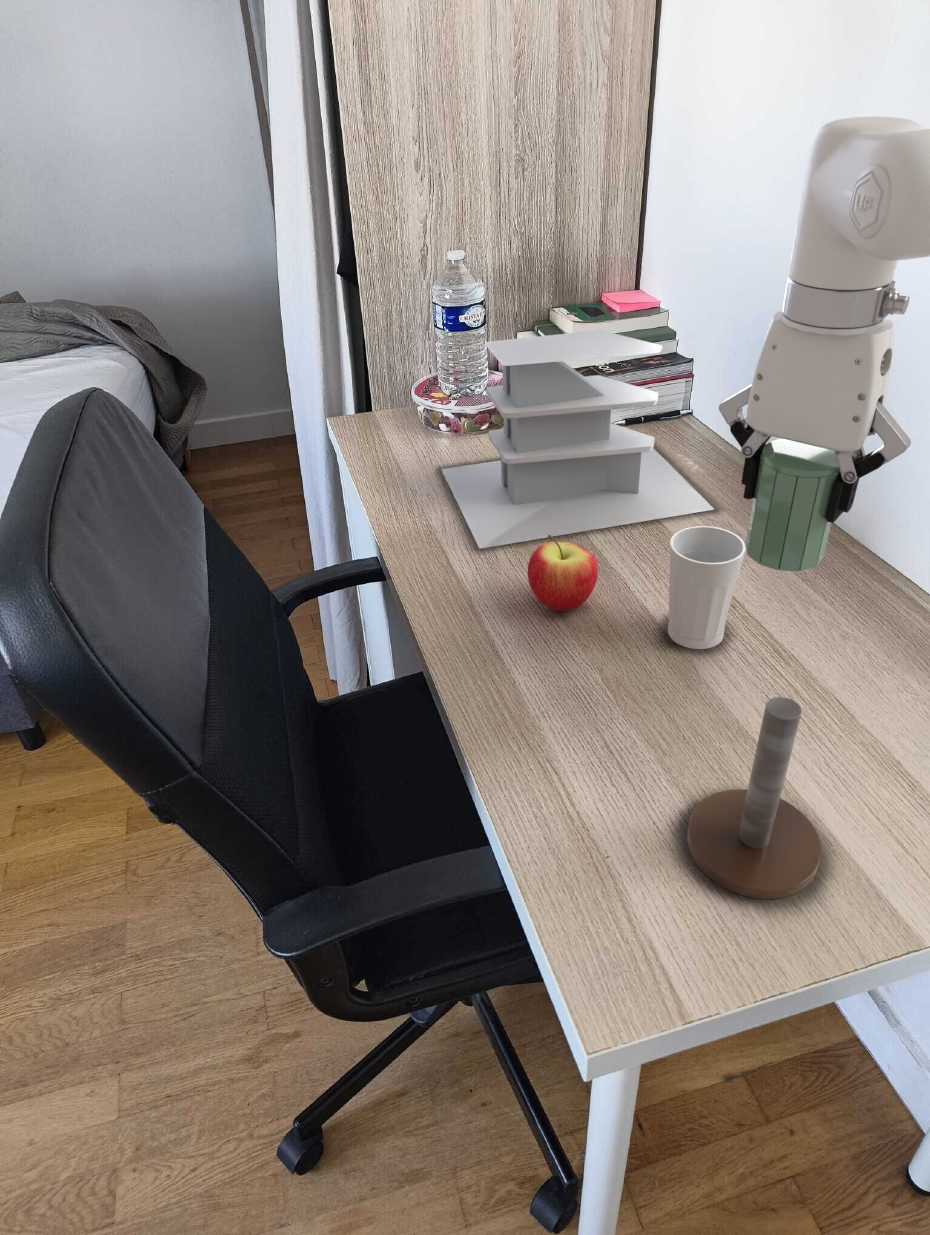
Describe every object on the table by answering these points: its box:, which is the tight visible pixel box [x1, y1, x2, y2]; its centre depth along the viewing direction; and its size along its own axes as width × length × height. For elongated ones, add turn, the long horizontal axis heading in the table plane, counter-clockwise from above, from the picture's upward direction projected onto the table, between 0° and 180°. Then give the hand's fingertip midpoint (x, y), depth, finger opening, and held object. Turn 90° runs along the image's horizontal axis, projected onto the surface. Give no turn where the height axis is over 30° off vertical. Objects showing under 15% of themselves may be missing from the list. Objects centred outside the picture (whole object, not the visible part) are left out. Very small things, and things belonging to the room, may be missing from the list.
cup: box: [667, 525, 747, 650], centre depth 95 cm, size 8×8×12 cm
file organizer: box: [441, 329, 716, 550], centre depth 122 cm, size 26×35×22 cm
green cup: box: [745, 438, 841, 572], centre depth 76 cm, size 7×7×10 cm
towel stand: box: [686, 696, 822, 900], centre depth 69 cm, size 11×11×16 cm
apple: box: [527, 535, 599, 612], centre depth 101 cm, size 8×8×10 cm
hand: (793, 503), depth 76 cm, fingers closed on green cup, 6 cm apart
